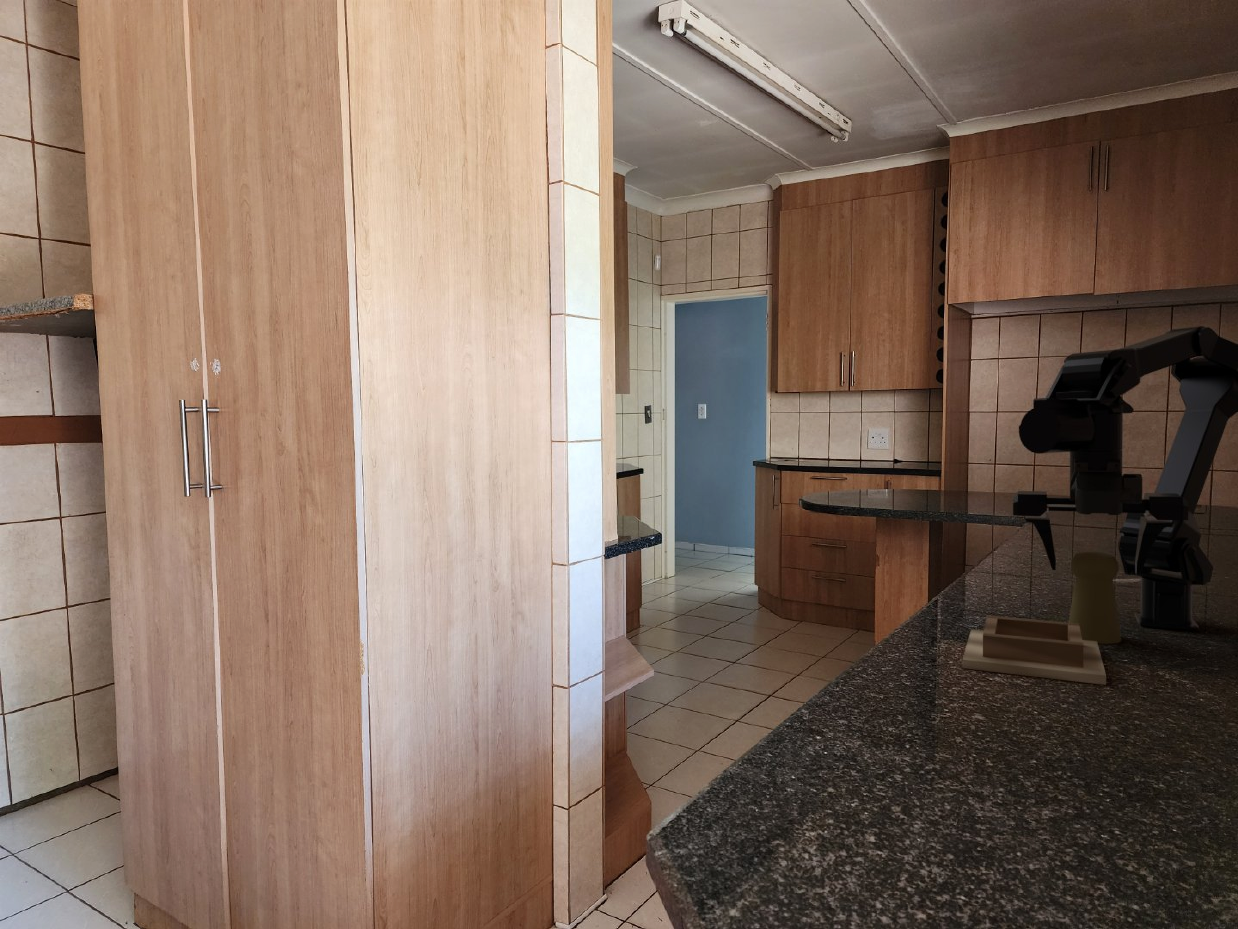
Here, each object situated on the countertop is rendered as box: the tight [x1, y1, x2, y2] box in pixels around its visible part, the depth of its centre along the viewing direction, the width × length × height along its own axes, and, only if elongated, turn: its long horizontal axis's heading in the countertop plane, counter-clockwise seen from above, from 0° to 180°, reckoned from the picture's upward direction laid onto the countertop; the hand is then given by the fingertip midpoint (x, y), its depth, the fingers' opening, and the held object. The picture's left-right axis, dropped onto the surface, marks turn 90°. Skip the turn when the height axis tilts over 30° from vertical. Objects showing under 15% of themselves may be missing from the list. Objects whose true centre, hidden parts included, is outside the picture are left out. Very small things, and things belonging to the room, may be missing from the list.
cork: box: [1068, 550, 1122, 645], centre depth 100 cm, size 6×6×11 cm
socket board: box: [962, 615, 1107, 686], centre depth 92 cm, size 14×14×4 cm
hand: (1094, 572), depth 100 cm, fingers open, 9 cm apart
